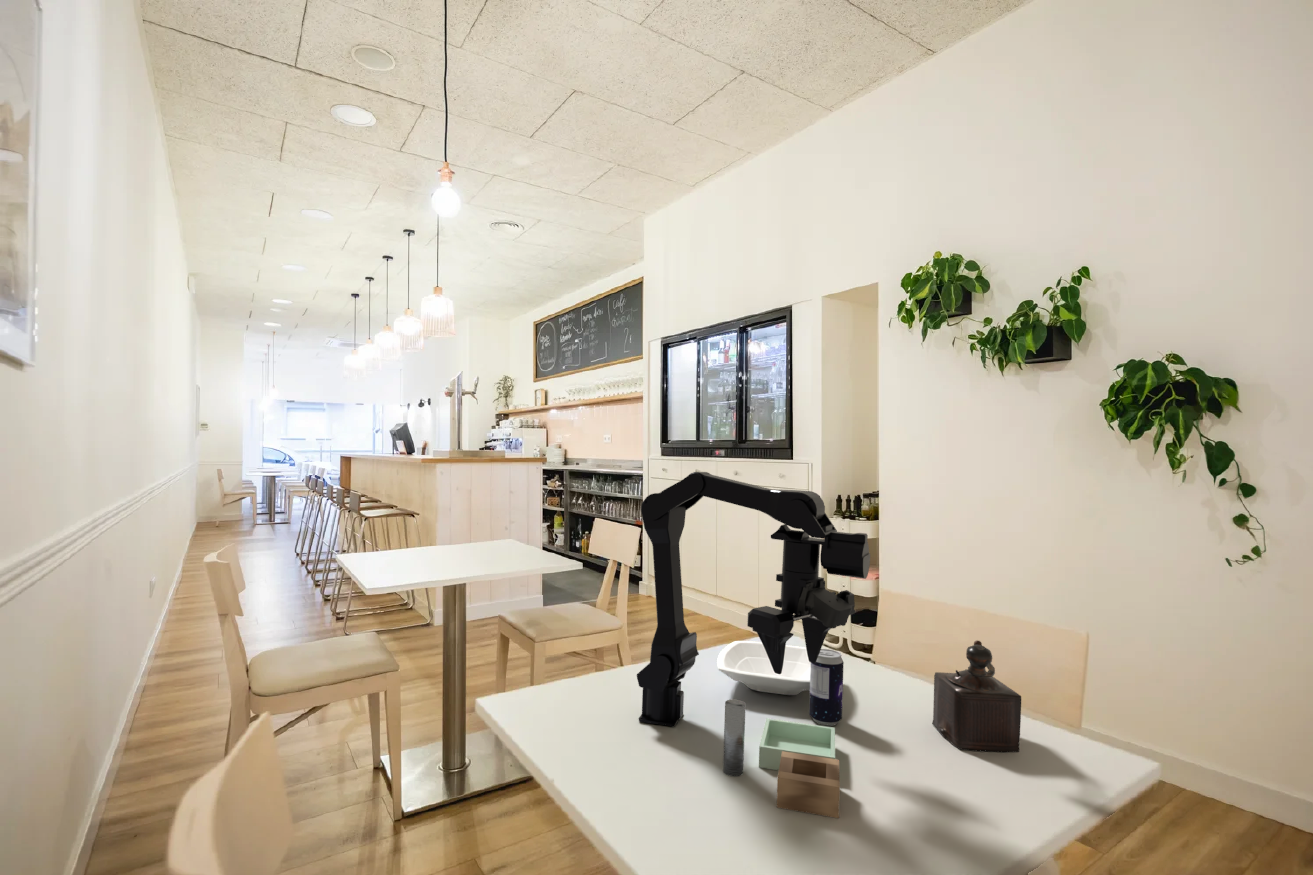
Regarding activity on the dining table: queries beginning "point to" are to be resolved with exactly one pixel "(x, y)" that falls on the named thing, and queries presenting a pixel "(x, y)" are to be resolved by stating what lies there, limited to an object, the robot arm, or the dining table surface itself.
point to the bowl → (766, 668)
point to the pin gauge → (734, 737)
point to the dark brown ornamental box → (977, 706)
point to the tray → (794, 741)
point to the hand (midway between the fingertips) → (795, 667)
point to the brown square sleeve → (808, 784)
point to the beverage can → (826, 688)
